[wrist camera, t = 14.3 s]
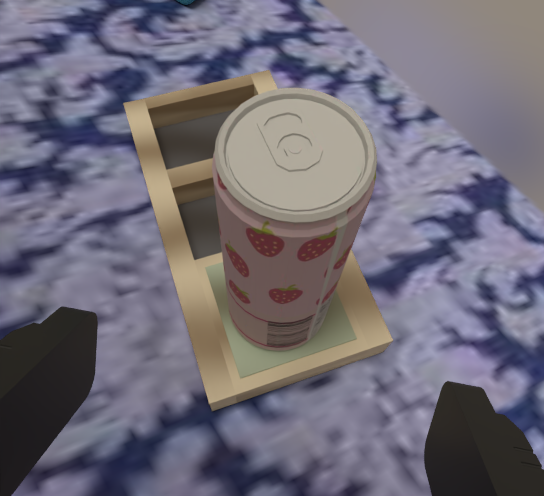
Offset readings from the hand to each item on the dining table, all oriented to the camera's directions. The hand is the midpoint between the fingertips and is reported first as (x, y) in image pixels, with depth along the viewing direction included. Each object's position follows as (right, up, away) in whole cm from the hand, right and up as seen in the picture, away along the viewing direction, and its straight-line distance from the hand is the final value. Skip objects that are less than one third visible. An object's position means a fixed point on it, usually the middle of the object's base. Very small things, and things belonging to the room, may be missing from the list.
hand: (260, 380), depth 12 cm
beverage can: (+1, 0, +19) cm, 19 cm away
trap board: (-2, +4, +24) cm, 24 cm away
